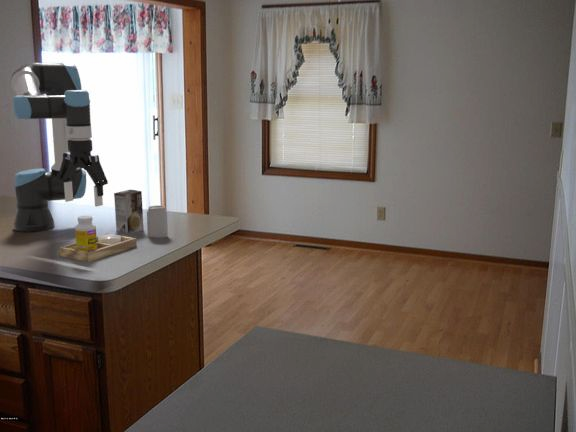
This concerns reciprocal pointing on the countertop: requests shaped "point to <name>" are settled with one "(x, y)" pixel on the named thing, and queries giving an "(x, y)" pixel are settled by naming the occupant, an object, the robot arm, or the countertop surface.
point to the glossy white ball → (109, 239)
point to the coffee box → (129, 211)
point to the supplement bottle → (85, 234)
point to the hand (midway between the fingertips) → (83, 203)
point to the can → (157, 221)
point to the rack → (101, 250)
